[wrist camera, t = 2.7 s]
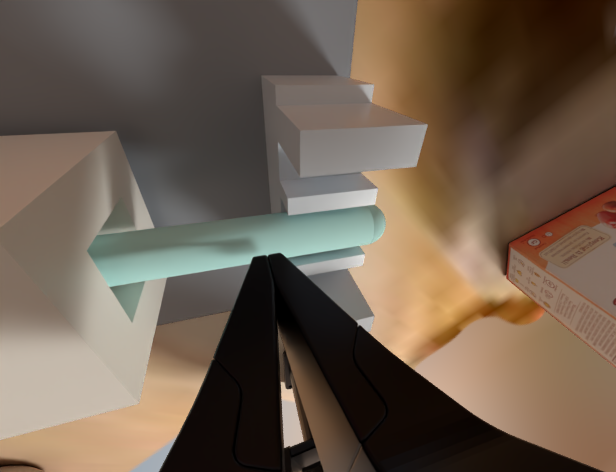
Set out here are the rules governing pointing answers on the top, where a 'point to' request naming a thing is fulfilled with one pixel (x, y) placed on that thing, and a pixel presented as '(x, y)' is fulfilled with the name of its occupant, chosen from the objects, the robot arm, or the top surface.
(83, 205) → the sleeve
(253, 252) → the pale teal rod
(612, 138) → the top surface
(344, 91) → the board
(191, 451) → the robot arm
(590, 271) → the cracker box
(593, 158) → the top surface
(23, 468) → the pump dispenser
